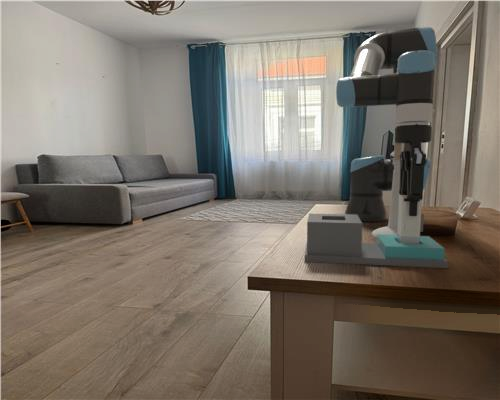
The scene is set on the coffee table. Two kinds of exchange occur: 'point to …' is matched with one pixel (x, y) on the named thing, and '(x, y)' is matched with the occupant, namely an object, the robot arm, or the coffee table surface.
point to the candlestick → (393, 197)
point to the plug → (402, 234)
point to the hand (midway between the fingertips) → (408, 227)
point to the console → (365, 245)
